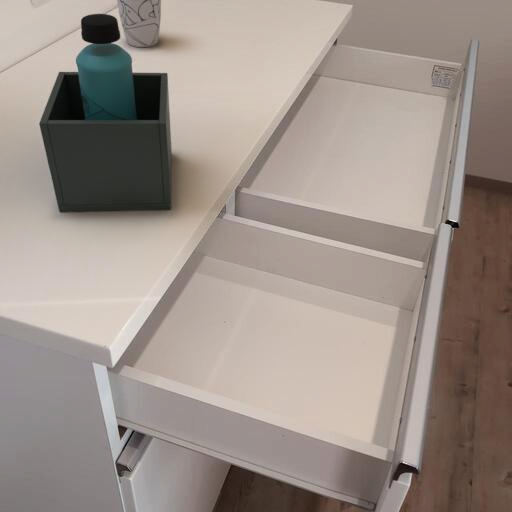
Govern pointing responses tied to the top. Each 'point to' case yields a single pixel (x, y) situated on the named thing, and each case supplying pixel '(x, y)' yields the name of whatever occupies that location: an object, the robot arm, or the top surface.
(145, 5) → the mug
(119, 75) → the beverage bottle
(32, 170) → the top surface
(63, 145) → the bin
